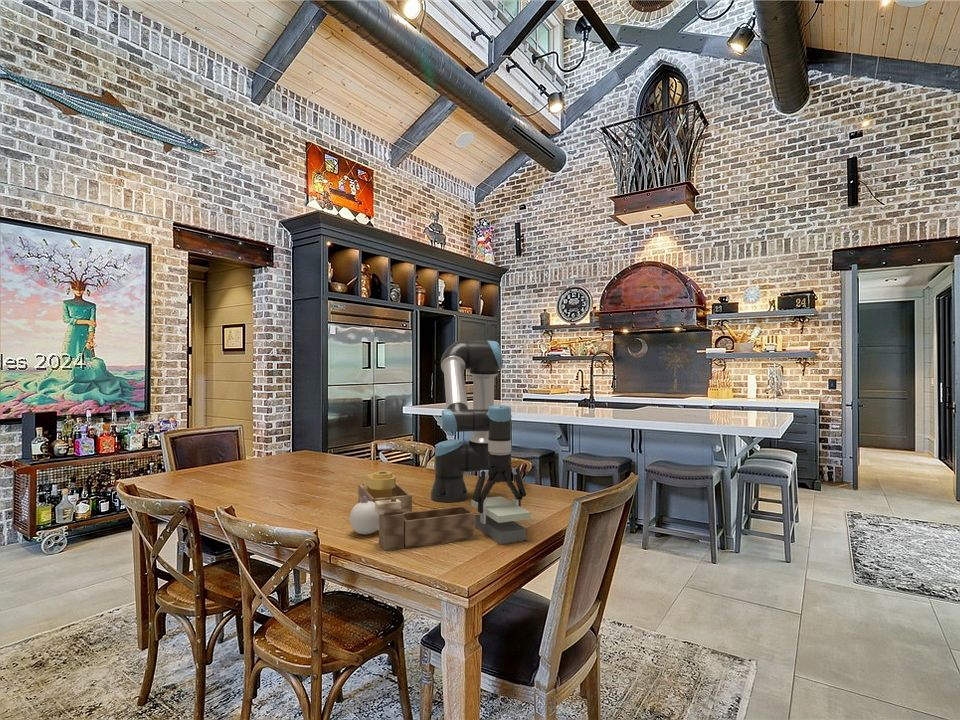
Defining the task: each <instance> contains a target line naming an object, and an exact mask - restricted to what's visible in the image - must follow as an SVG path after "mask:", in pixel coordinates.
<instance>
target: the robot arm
mask: <svg viewBox="0 0 960 720" xmlns="http://www.w3.org/2000/svg"><path fill="white" fill-rule="evenodd" d="M502 354H503V353H502V349H501V346H500V344H499V342H498V341H495V340H465V339H464V340H458V341H455V342H453V343H452V344H451V345H449V346H448V347H447V348H446V349H445V350H444V352H443V354H442V356H441V359H440V369H441V371H442V373H443V375H444V376H443V377H444V391H445V392H444V393H445V394H444V395H445V404H446V405H445V406H446V407H445V408H446V409H443V410H442V411H441V430H442V431H443V432H452V433H457V432H458V433H460V432H463V433H464V432H472V435H470V437H468V438H469V439H468V442H467V443H466V442H465V441H464V439H459V438H458V439H448V440H444V441H440V442H438V443H437V444H436V445H435V449H434V450H435V451H434V452H435V453H434V457H435V460H434V461H435V462H434V463H435V465H434V467H435V468H434V469H435V470H434V472H435V473H434V476H435V477H434V482H433V485H432V487H431V488H432V489H431V491H430V499H431V500H432V501H435V502H440V503H441V502H442V503H457V502H462V501H465V500H467V499H468V497H469V496H468V489H467V486H466V483H465V479H464V473H465V472H466V473H468V472H470V473H473V472H475V473H476V472H478V479H477V481H476V485H475V488H474V491H473V495H472V497H471V499H472V500H474V501H475V502H478V509H477V512H478V513H479V515H480V522H481V523H483V524H486V503H484V501H485V499H486V498H488V495H489V493H490V491H491V489H492V488H493V487H494V486H495V484H497V483H500V482H501V483H506V485H507V487H508V488H509V490H510V492H511V493H512V494H513V498H512V503H514V504H516V505H518V506H520V507H522V501H521V500H523V498H525V497H527V493H526V490H525V486H524V484H523V483H524V482H523V479H522V477H521V468H519V467H517V466H514V467H512V454H511V452H512V417H513V416H512V408H511V406H510V405H506V404H505V405H504V404H503V405H501V404H496V405H495V378H496V377H497V376H498V375H499V370H502V369H503V355H502ZM465 370H469V374H470V375H471V377H472V378H473V381H472V382H473V389H472V393H473V394H472V401H473V402H472V409H469V406H468V397H467V396H468V395H467V390H466V382H465V374H464V373H465ZM510 475H513V477H514V478H513V479H514V481H515V484H516V485H515V484H514V482H513V480H512V478H511V477H510ZM487 476H489V477H488V479H487V480H486V477H487ZM485 481H486V483H485ZM484 484H485V485H484ZM516 487H517V488H516Z"/></svg>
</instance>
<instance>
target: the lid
mask: <svg viewBox="0 0 960 720" xmlns="http://www.w3.org/2000/svg"><path fill="white" fill-rule="evenodd" d="M470 500H471V502H470V503H471V506H472V507H474V508H475V509H476V510H478V502H475V501H474V500H472V498H471V499H470ZM484 503H486V515H487V516H489V517H490V518H492V519H493V520H495V521H496V522H498V523H502V522H509V521H514V522H515V521H523V520H530V519H532V517H531V516H532V515H531V514H532V513H531V511H529V510H527V509H525V508H524V507H522V506H521V507H520V506H518V505H516V504H514V503H513V501H510V500H508V499H506V498H505V497H502V496H501V495H500V496H492V497H486V499H485V501H484Z"/></svg>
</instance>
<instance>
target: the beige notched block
mask: <svg viewBox="0 0 960 720" xmlns="http://www.w3.org/2000/svg"><path fill="white" fill-rule="evenodd" d="M400 510H401V501H399V500H398V499H396V497H391V500H382V501H375V512H376V513H377V514H378V515H380V514H384V512H391V511H400Z"/></svg>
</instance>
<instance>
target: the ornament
mask: <svg viewBox="0 0 960 720" xmlns="http://www.w3.org/2000/svg"><path fill="white" fill-rule="evenodd" d="M364 500H365V501H364ZM349 522H350V523H349V524H350V526H351V528H352V529H353V531H354V532H355V533H358V534H360V535H371V534H373V533H375V532H376V531H377V530H379V515H378V514H377V513H376V512H375V503H374V502H372V501H368V500H367V497H366V496H364V497H363V499H362V501H361V502H360V503H358V502H357V503H356V504H355V505H354V506H353V507H352V509H351V511H350V515H349Z"/></svg>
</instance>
